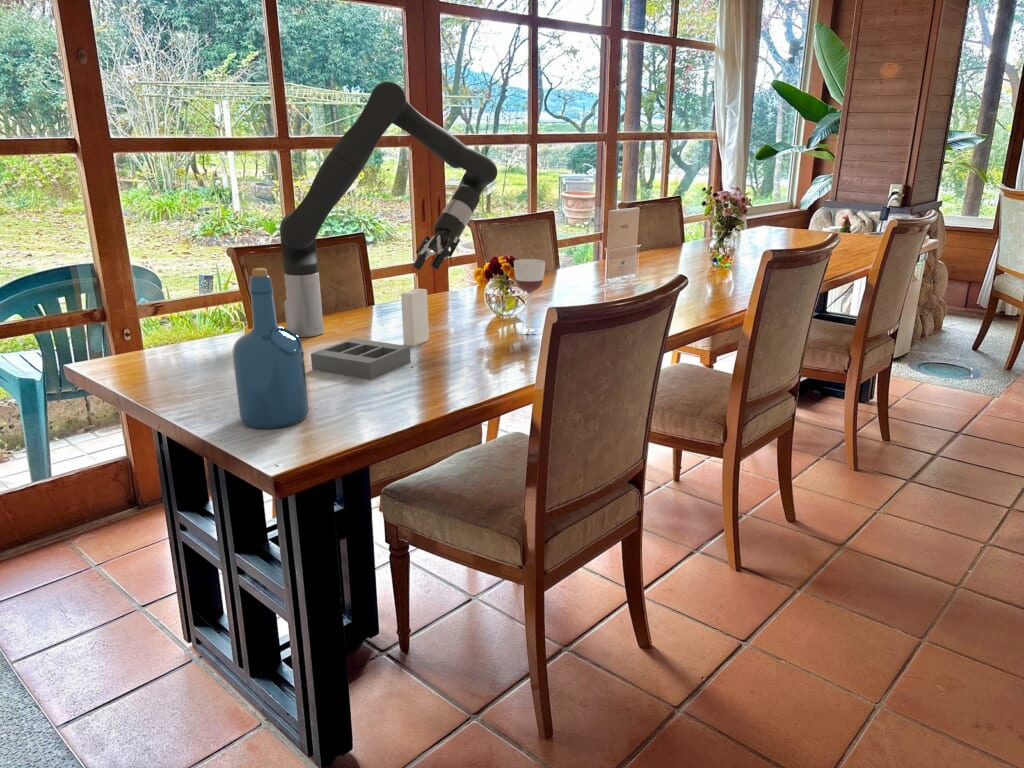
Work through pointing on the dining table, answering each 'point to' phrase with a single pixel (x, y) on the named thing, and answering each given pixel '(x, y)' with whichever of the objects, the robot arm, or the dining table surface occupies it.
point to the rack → (361, 358)
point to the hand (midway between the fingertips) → (424, 268)
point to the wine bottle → (269, 365)
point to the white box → (415, 317)
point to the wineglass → (529, 279)
